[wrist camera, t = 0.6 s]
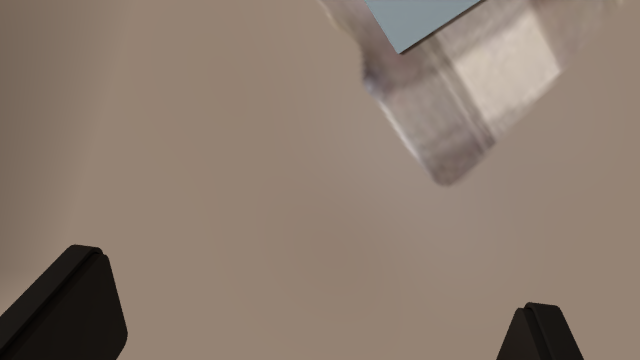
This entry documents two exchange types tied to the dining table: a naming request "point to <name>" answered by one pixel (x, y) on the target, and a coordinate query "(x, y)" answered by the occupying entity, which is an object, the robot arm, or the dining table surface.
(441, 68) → the dining table surface
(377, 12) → the blue mat
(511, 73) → the dining table surface
